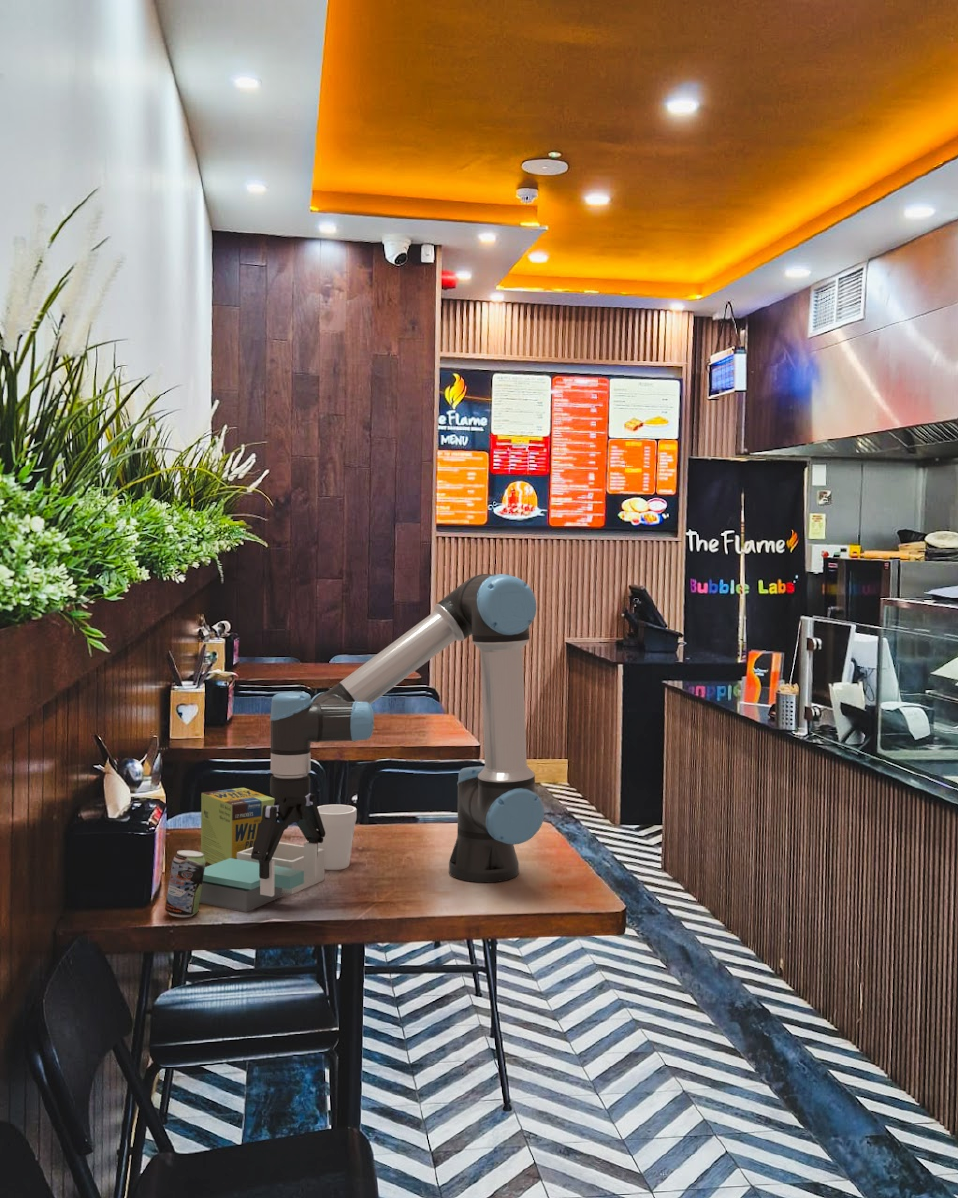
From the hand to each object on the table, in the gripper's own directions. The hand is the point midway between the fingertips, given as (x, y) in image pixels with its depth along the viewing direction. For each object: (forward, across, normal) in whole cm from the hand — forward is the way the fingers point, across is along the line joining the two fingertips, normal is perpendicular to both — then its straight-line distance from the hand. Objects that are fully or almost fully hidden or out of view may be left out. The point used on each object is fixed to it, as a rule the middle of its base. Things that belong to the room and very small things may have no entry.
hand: (289, 885), depth 201 cm
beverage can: (+5, +11, -16) cm, 20 cm away
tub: (+5, -13, -12) cm, 18 cm away
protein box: (+5, -20, -29) cm, 35 cm away
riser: (+5, 0, -12) cm, 13 cm away
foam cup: (+5, -28, -9) cm, 30 cm away
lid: (0, 0, -9) cm, 9 cm away
